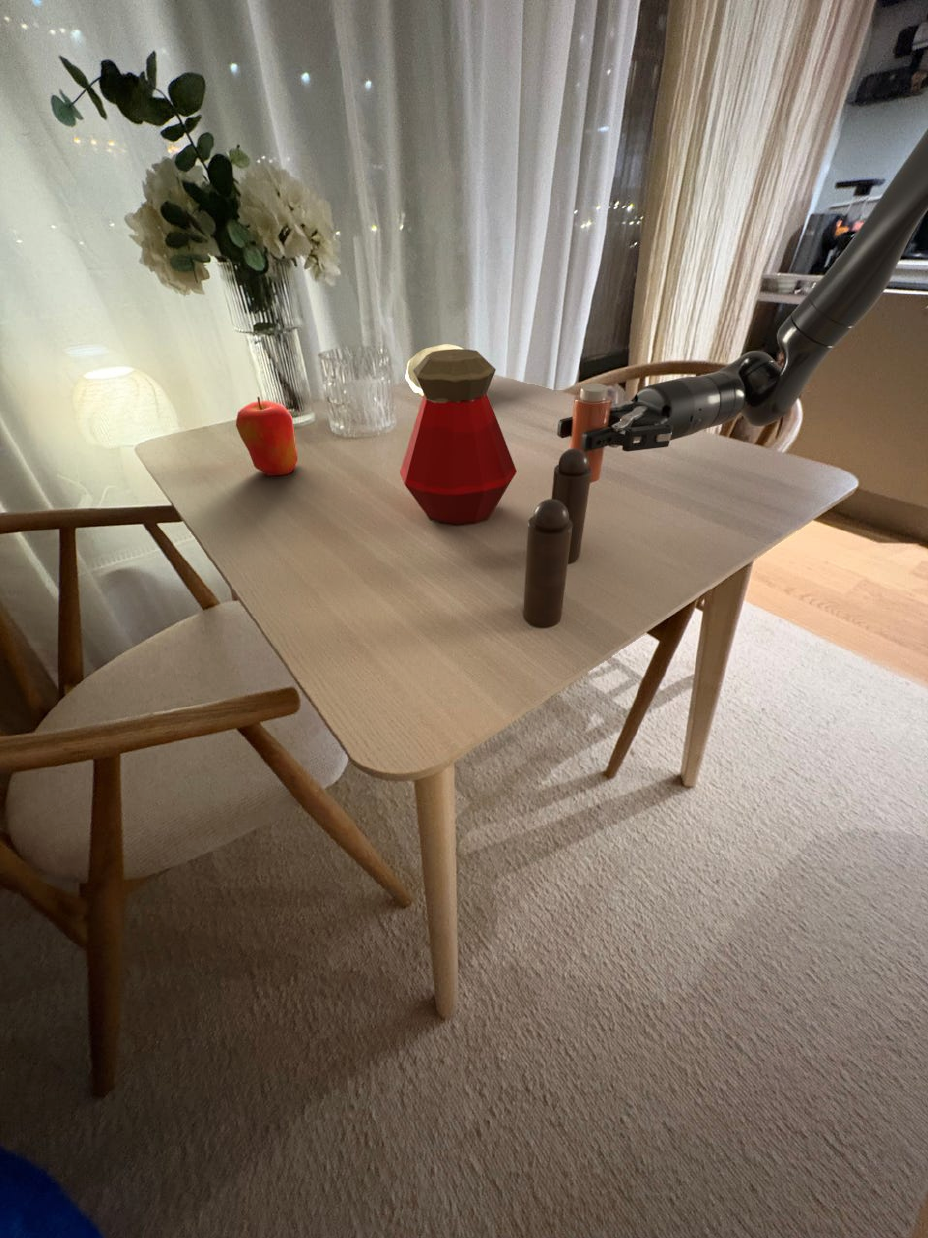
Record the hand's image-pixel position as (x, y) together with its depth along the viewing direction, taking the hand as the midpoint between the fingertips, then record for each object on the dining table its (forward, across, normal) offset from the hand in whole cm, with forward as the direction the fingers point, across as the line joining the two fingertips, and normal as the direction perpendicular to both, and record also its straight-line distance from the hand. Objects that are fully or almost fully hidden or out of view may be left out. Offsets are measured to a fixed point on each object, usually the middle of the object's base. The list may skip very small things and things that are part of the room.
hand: (571, 435), depth 61 cm
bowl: (-7, -54, +11) cm, 55 cm away
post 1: (+15, +17, +11) cm, 25 cm away
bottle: (+12, -8, +11) cm, 18 cm away
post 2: (+6, +8, +11) cm, 15 cm away
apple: (+32, -36, +11) cm, 49 cm away
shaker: (-3, 0, +6) cm, 7 cm away
